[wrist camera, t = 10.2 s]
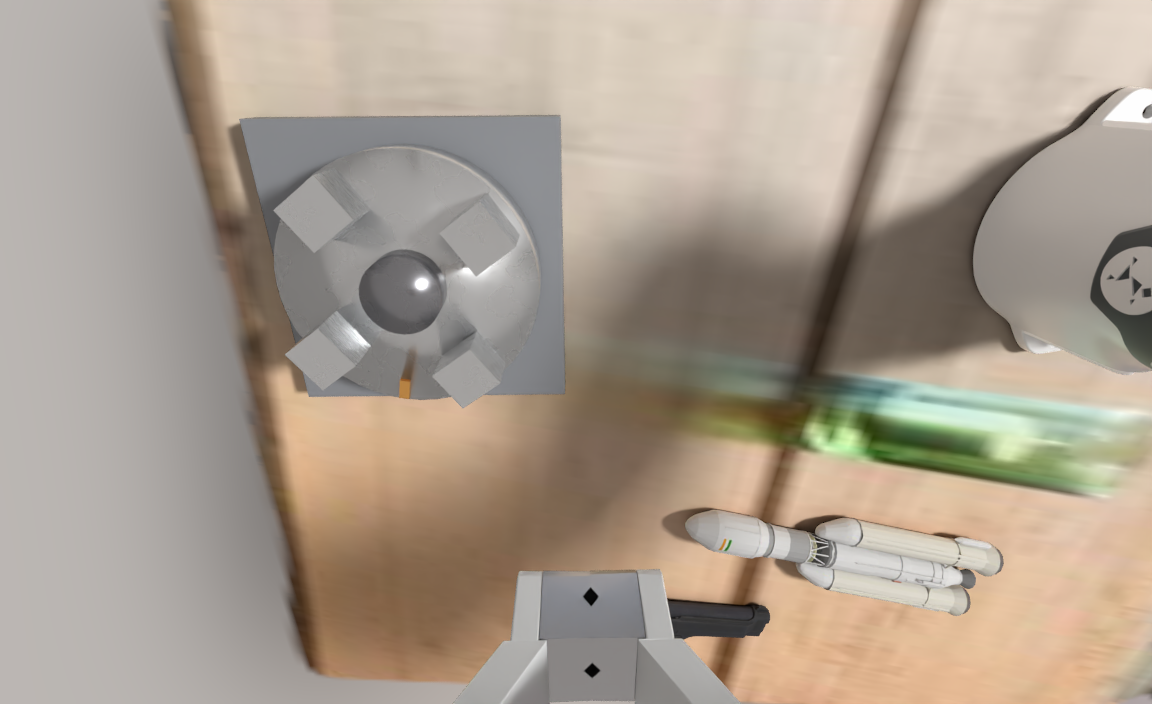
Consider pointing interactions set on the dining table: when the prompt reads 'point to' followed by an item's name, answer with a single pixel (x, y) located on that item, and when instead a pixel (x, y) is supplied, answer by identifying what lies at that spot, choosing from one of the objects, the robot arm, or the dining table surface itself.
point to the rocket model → (859, 557)
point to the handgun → (716, 619)
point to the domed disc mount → (406, 274)
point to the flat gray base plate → (494, 143)
